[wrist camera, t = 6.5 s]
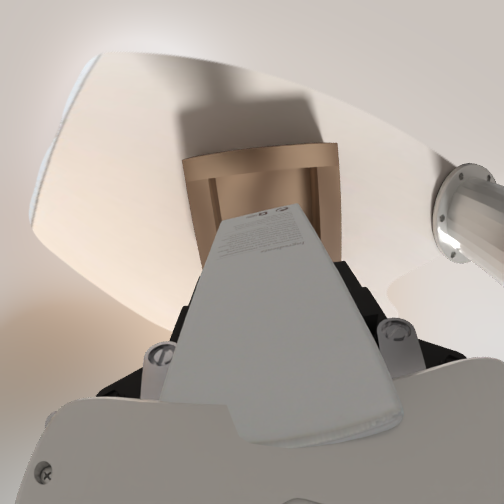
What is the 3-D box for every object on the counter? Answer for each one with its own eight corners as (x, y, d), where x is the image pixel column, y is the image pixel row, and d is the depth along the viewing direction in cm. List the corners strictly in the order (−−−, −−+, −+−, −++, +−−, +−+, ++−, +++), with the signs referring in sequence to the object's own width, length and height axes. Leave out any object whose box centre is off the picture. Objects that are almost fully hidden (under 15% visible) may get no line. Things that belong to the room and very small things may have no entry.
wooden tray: (323, 142, 23) (337, 143, 19) (329, 260, 28) (340, 281, 23) (194, 156, 24) (182, 159, 20) (215, 272, 28) (208, 294, 24)
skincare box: (218, 219, 14) (131, 445, 3) (298, 200, 14) (419, 408, 3) (247, 313, 16) (239, 514, 5) (316, 298, 16) (372, 495, 5)
